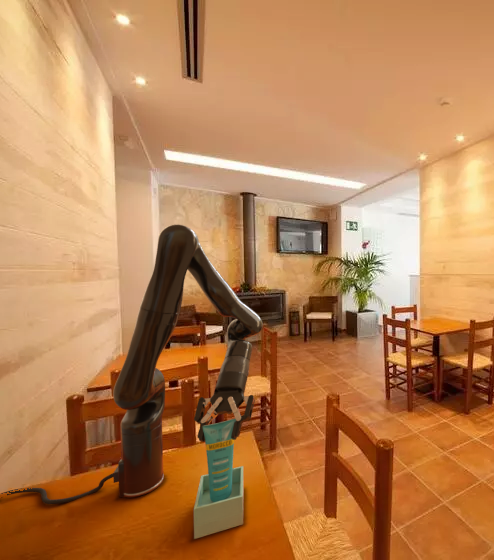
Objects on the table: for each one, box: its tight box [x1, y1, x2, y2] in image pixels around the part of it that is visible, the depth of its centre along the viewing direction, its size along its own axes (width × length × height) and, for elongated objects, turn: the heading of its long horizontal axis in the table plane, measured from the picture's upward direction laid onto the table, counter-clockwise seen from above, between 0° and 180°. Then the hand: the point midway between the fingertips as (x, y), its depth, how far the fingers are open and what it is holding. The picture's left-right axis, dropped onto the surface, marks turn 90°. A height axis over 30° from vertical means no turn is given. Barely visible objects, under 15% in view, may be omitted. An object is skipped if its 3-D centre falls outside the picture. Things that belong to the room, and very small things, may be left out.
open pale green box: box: [193, 465, 245, 540], centre depth 76 cm, size 10×12×7 cm
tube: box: [203, 418, 236, 502], centre depth 76 cm, size 7×5×19 cm, turn 123°
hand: (217, 439), depth 74 cm, fingers closed on tube, 7 cm apart
